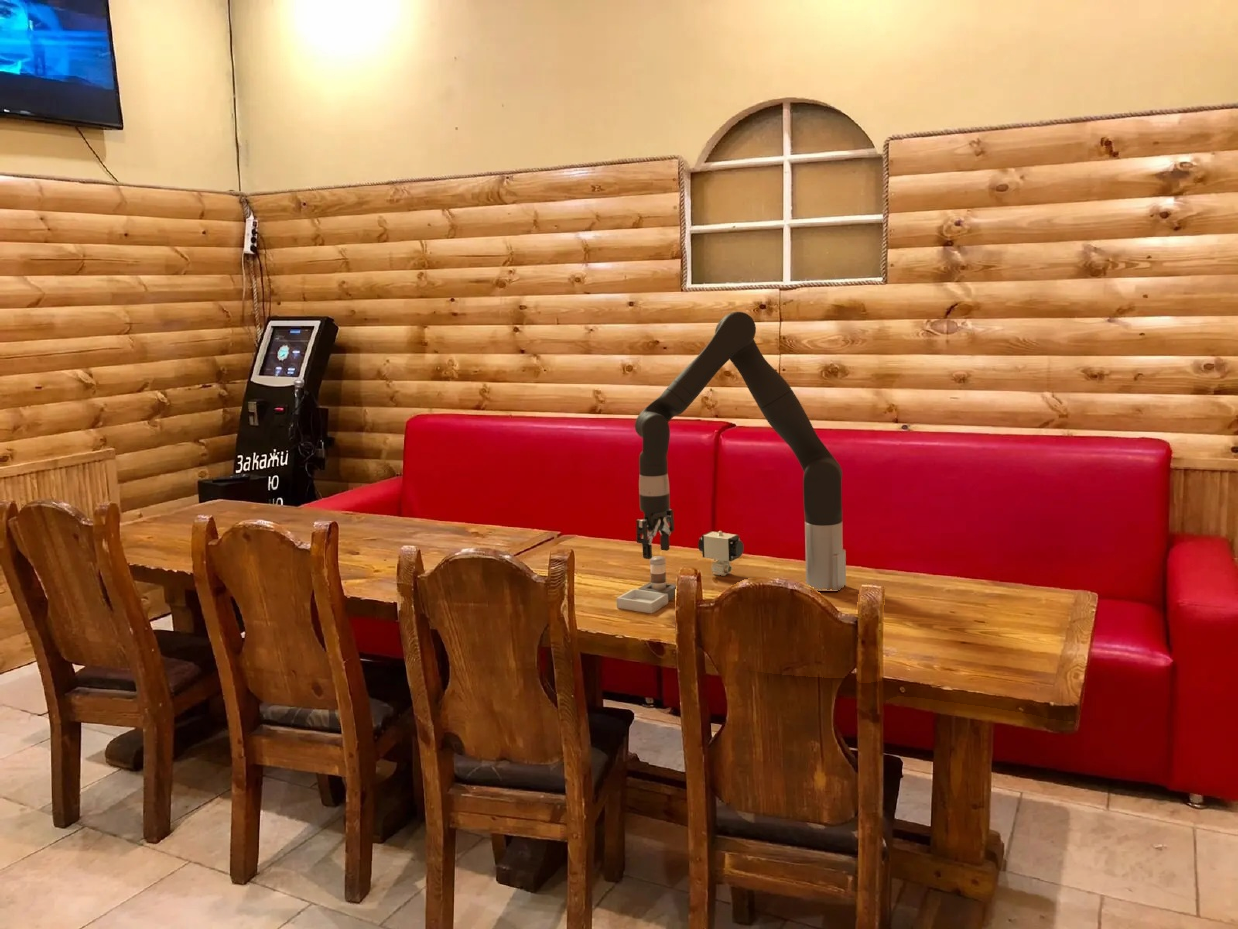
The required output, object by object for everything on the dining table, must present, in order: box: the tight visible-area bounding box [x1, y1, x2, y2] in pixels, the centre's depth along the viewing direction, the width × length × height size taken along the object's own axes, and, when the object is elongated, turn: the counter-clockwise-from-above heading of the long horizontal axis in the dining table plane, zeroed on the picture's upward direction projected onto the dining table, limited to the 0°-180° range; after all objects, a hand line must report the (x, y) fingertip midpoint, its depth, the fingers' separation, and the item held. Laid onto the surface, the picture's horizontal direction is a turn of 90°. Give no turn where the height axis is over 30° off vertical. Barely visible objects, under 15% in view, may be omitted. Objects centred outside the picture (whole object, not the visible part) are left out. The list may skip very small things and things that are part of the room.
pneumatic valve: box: [697, 530, 744, 577], centre depth 255 cm, size 6×12×12 cm, turn 53°
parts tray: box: [615, 588, 669, 614], centre depth 234 cm, size 10×8×2 cm
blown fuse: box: [649, 555, 667, 591], centre depth 240 cm, size 4×4×10 cm
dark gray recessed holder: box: [637, 581, 676, 602], centre depth 240 cm, size 8×7×2 cm
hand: (656, 554), depth 239 cm, fingers open, 8 cm apart
